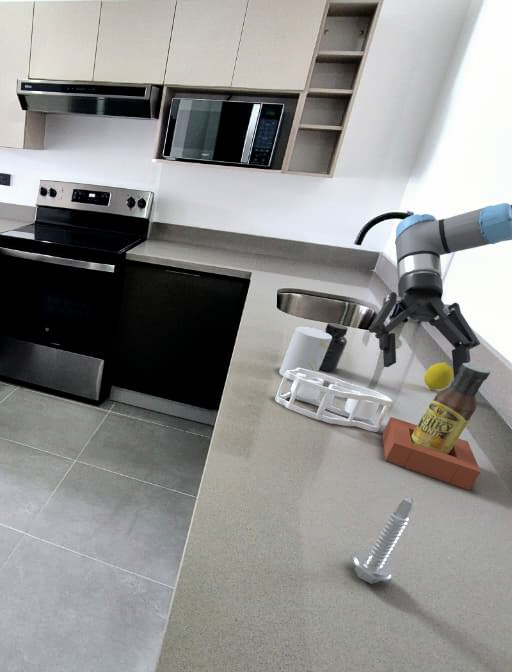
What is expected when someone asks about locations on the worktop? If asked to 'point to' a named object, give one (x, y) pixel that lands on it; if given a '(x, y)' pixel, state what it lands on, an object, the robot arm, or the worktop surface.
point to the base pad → (429, 456)
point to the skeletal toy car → (357, 406)
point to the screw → (382, 547)
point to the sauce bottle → (450, 410)
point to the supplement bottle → (334, 346)
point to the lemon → (438, 376)
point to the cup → (306, 350)
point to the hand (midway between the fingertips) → (425, 371)
